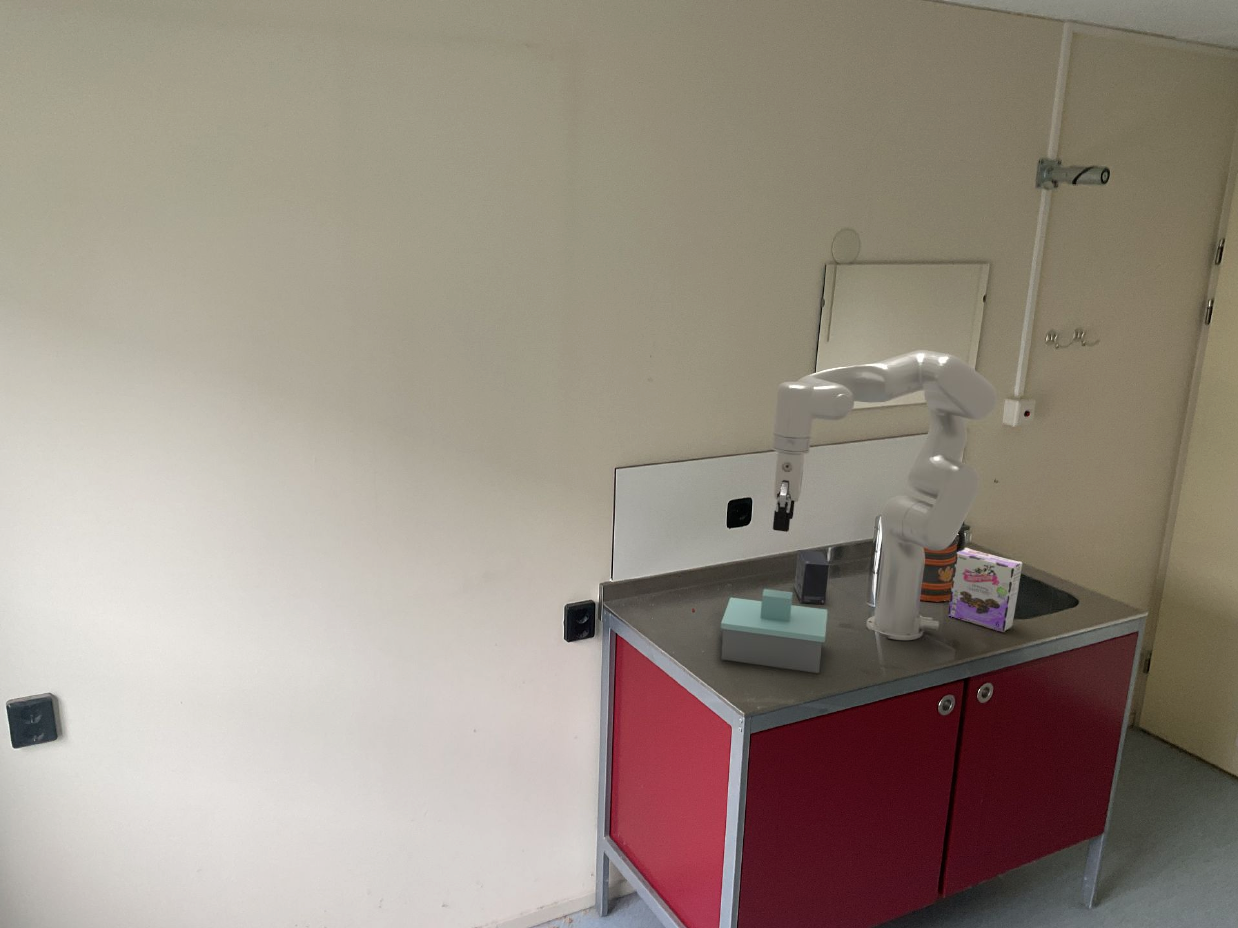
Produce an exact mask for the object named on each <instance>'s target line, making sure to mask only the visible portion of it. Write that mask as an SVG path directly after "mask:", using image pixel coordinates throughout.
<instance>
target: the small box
mask: <svg viewBox="0 0 1238 928" xmlns="http://www.w3.org/2000/svg"><path fill="white" fill-rule="evenodd" d="M829 571H830V563H829V562H828V560H827V558H826V557H825V555H824V553H823V552H822V551H818V550H817V551H816V550H807V549H806V550H803V549H798V550H797V560H796V570H795V576H794V577H795V579H794V586H793V589H794V592H795V593H796V595H797V598H798V600H799V603H801V604H816V605H826V597H827V590H828V579H829Z"/></svg>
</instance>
